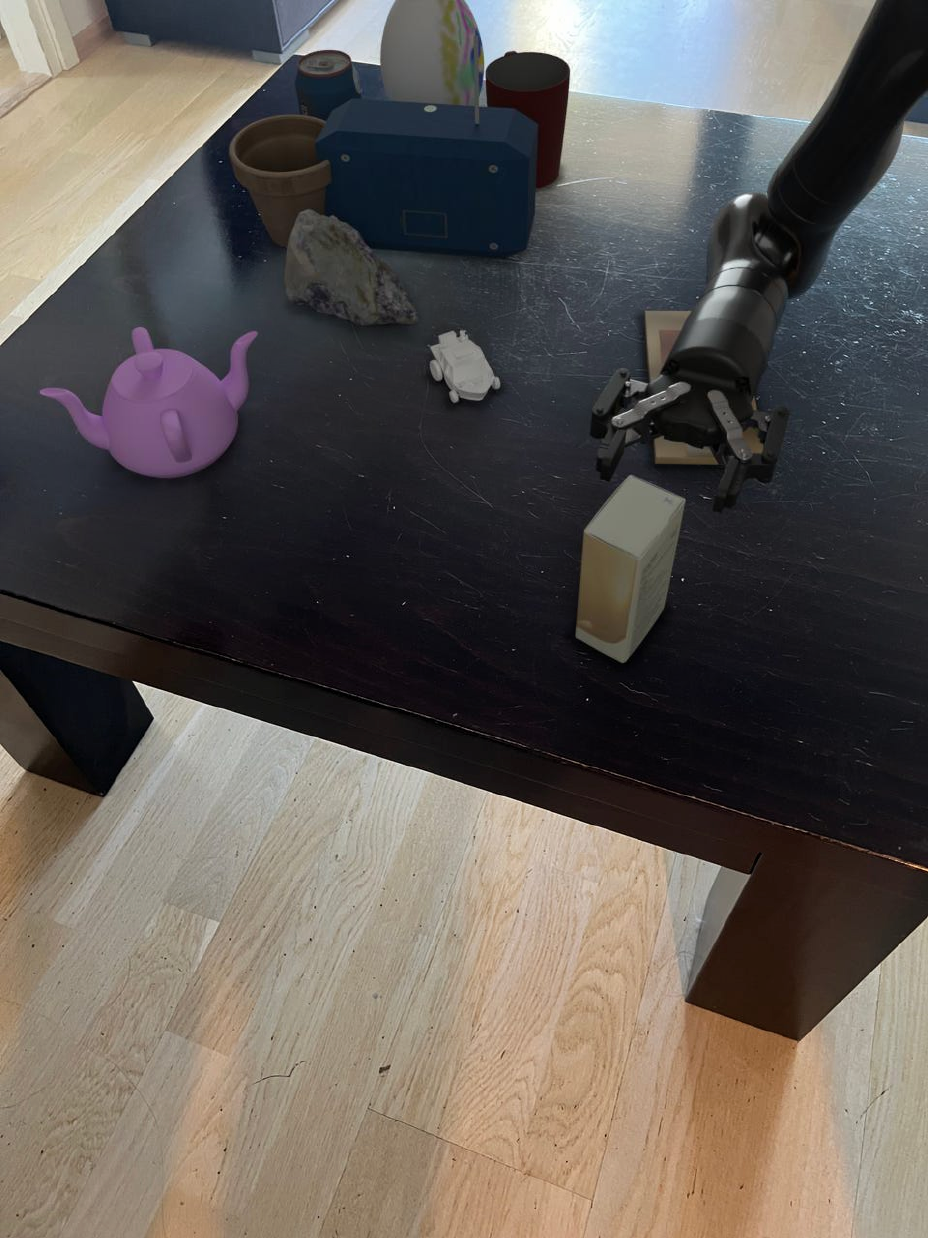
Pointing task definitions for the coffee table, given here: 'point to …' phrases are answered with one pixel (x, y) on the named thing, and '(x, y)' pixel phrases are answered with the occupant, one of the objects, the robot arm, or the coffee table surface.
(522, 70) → the mug
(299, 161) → the flower pot
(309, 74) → the soda can
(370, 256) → the mineral rock
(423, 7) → the decorative egg
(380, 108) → the radio
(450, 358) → the toy car
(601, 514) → the cosmetic box
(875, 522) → the coffee table surface
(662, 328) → the word board
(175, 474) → the teapot
